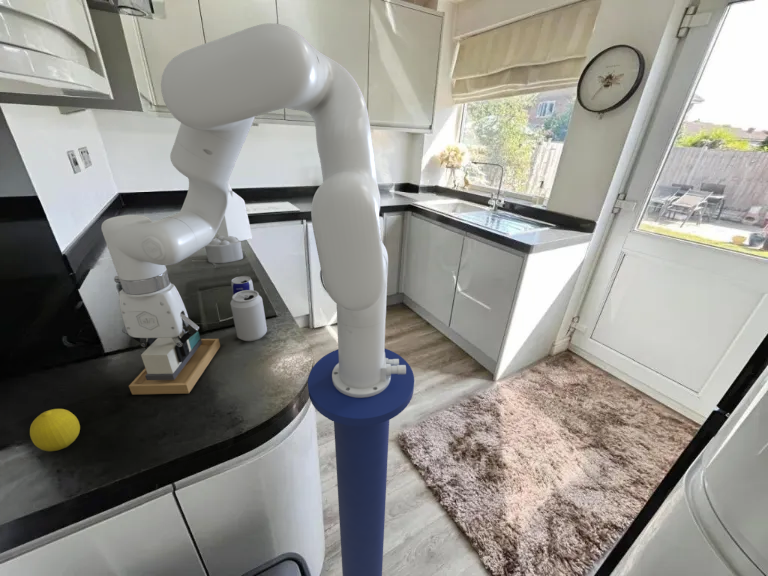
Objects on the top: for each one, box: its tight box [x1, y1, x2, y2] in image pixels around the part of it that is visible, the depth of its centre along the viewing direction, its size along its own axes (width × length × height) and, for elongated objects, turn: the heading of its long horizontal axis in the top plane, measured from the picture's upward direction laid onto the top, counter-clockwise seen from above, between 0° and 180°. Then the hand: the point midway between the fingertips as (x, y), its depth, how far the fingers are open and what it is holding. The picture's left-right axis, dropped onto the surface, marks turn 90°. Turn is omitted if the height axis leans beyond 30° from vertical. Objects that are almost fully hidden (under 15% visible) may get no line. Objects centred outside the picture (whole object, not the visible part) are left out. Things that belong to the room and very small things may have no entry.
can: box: [229, 290, 268, 342], centre depth 83 cm, size 8×8×12 cm
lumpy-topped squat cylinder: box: [204, 235, 244, 264], centre depth 133 cm, size 10×13×9 cm
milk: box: [216, 183, 253, 242], centre depth 154 cm, size 12×12×26 cm
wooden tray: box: [128, 338, 221, 395], centre depth 73 cm, size 11×16×2 cm
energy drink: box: [230, 275, 255, 296], centre depth 91 cm, size 5×5×12 cm
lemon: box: [29, 408, 81, 452], centre depth 53 cm, size 6×6×8 cm
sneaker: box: [140, 331, 202, 380], centre depth 71 cm, size 13×5×6 cm, turn 4°
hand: (170, 357), depth 69 cm, fingers closed on sneaker, 5 cm apart
